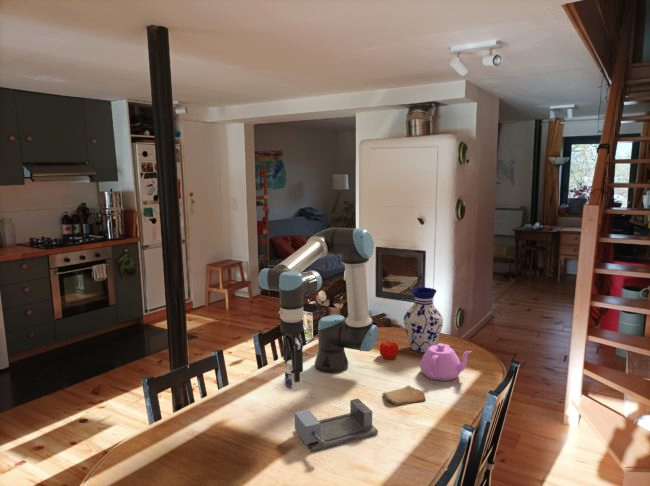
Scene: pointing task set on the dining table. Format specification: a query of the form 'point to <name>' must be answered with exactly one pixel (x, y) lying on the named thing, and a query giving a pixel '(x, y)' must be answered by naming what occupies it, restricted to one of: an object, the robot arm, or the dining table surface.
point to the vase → (423, 320)
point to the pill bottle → (289, 375)
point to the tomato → (389, 350)
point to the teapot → (442, 363)
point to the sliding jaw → (308, 427)
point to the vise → (346, 427)
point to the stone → (405, 395)
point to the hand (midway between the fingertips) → (293, 386)
